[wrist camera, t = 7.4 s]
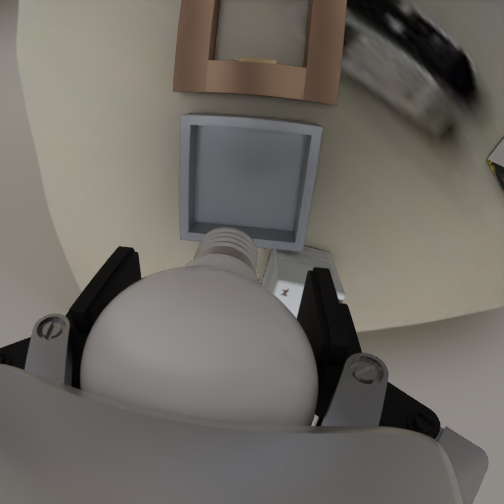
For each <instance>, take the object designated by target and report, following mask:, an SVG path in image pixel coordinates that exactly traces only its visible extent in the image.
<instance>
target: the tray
mask: <svg viewBox="0 0 504 504" xmlns="http://www.w3.org/2000/svg"><path fill="white" fill-rule="evenodd" d="M322 130H323V127H321V126H320V125H318V124H314V123H307V122H300V121H292V120H284V119H276V118H266V117H256V116H244V115H229V114H209V113H188V114H184V115H181V131H180V169H179V216H180V240H189V241H199V242H201V240H202V238H203V237H204V236H205V235H206V234H207V233H208V232H210V231H211V230H213V229H216V228H219V227H233V228H236V229H239V230H241V231H243V232H245V233H246V234H247V235H248V236H249V237H250V238H251V239H252V240H253V242H254V244H255V246H256V247H260V248H270V249H280V250H289V251H299V252H303V246H304V241H305V236H306V230H307V225H308V219H309V213H310V208H311V202H312V196H313V190H314V184H315V177H316V171H317V165H318V158H319V151H320V144H321V137H322Z"/></svg>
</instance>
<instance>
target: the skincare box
mask: <svg viewBox="0 0 504 504" xmlns="http://www.w3.org/2000/svg"><path fill="white" fill-rule="evenodd" d="M314 267H321V268H329V270H330V273H331V276H332V279H333V282H334V286H335V289H336V292H337V296H338V299H339V303H342V301H343V300H344V298H345V292H344V290H343V287H342V284H341V281H340V279H339V276H338V273H337V271H336V268H335V265H334V263H333V260H332V257H331V255H330V253H329V252H326V251H322V250H318V249H314V248H309V247H305V246H303V252H299V251H289V250H280V249H272V252H271V255H270V259H269V262H268V265H267V268H266V272H265V275H264V278H263V281H262V285H261V286H263V287H264V288H266V289H267V290H269V291H270V292H271V293H273V294H274V295H275V296H276V297H277V298H278V299H279V300H281V301H282V302H283V303H284V304H285V305H286V306H287V308H288V309H289V310H290V311H291V312H292V313H293V315H294V316H295V317H296V319H297V315H298V311H299V306H300V302H301V298H302V294H303V289H304V285H305V281H306V276H307V272H308V270H312V271H313V268H314Z"/></svg>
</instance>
